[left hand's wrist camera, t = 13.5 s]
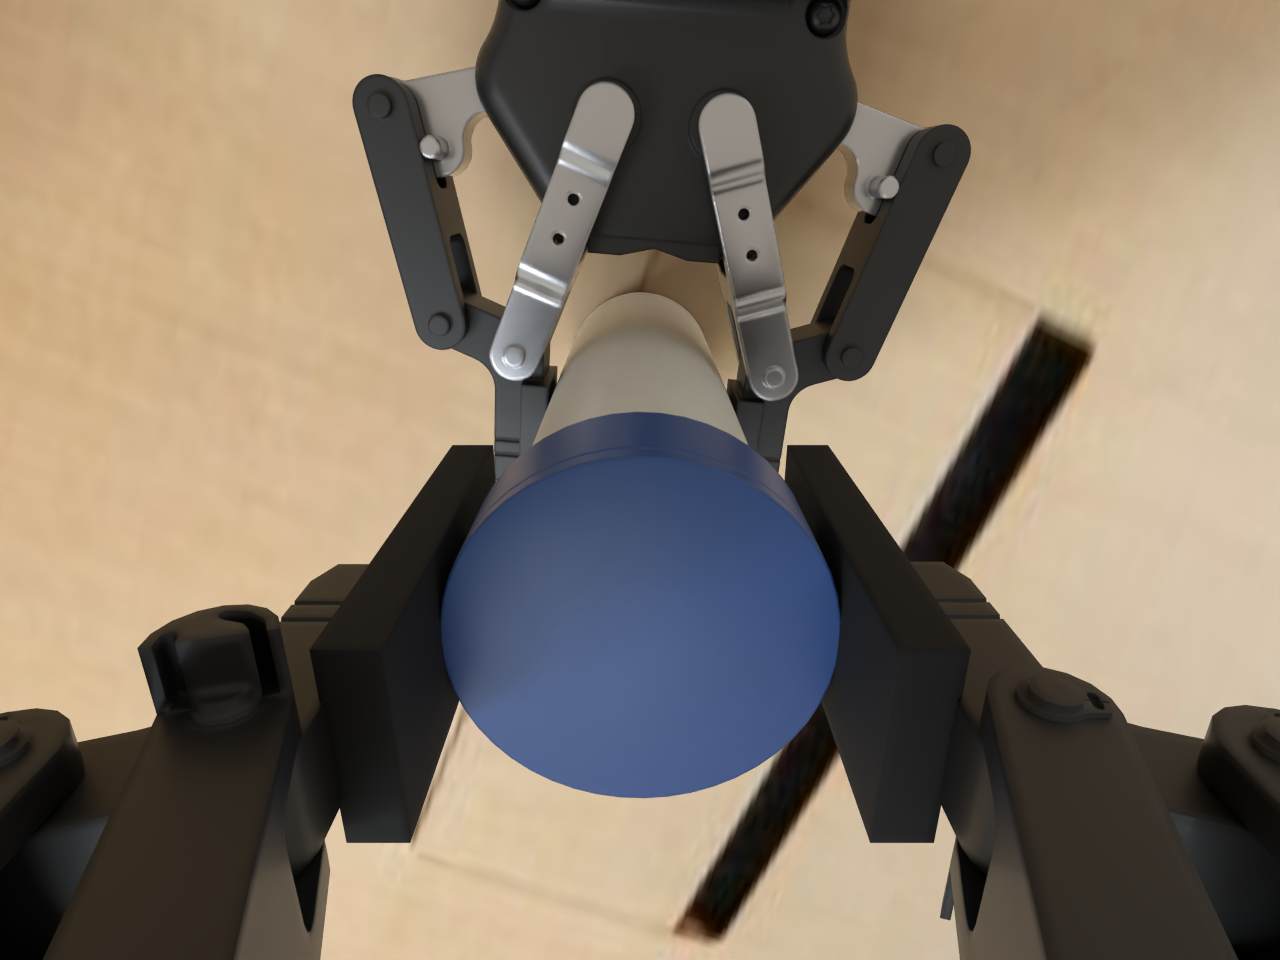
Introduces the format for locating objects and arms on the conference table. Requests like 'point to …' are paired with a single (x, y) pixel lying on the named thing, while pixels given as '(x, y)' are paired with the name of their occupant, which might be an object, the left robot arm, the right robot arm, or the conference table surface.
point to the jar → (640, 367)
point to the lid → (640, 609)
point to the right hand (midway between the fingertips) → (631, 508)
